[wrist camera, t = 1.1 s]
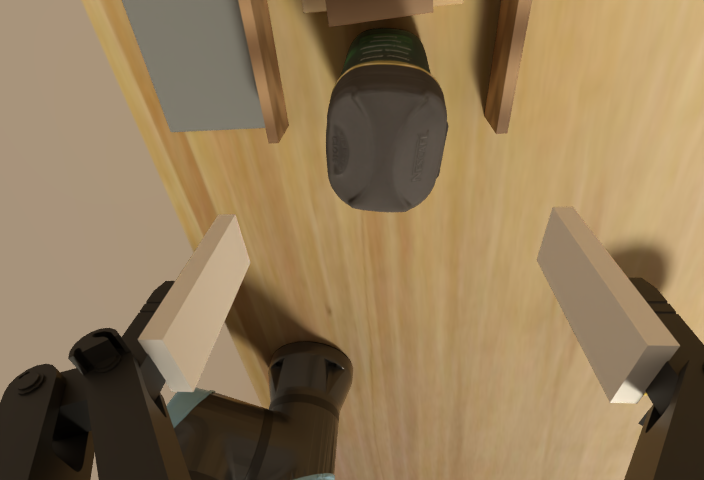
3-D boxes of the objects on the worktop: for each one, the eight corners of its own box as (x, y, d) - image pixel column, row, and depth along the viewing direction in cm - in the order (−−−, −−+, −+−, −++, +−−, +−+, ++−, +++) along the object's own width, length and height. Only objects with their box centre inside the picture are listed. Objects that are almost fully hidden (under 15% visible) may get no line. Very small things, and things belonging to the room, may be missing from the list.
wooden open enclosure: (494, 115, 39) (507, 133, 35) (279, 125, 41) (268, 143, 37) (526, -88, 29) (549, -96, 25) (244, -61, 31) (224, -64, 27)
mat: (266, 126, 41) (265, 127, 40) (172, 130, 42) (170, 132, 42) (233, -30, 32) (232, -30, 32) (117, -20, 34) (114, -19, 33)
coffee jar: (345, 25, 34) (317, 71, 20) (430, 28, 34) (467, 77, 19) (343, 126, 40) (321, 221, 25) (416, 130, 40) (436, 228, 25)
